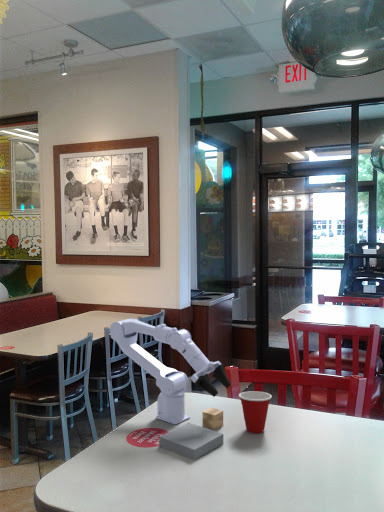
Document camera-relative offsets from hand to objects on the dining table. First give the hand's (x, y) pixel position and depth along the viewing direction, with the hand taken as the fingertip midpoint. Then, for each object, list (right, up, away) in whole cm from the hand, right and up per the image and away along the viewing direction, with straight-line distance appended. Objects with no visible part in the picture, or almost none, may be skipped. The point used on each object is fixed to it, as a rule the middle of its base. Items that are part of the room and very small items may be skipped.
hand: (222, 390), depth 156 cm
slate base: (-10, -14, -10) cm, 20 cm away
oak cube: (-3, -13, +5) cm, 15 cm away
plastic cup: (+11, -14, +1) cm, 17 cm away
